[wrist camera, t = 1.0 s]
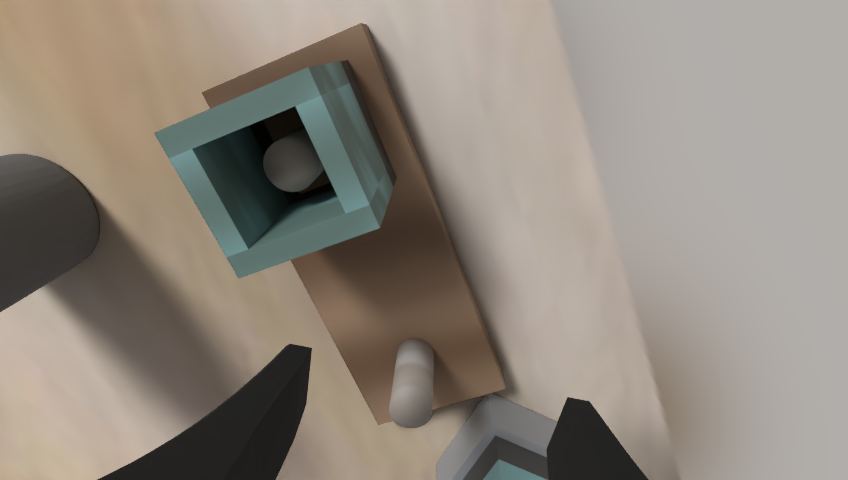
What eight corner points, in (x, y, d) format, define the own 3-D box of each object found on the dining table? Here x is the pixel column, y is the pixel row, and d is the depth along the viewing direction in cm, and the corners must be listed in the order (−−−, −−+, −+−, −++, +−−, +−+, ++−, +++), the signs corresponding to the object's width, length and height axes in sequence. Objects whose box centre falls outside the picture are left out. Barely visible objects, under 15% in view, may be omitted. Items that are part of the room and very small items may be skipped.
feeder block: (524, 500, 29) (531, 539, 27) (436, 464, 28) (435, 501, 26) (580, 432, 27) (593, 468, 25) (487, 391, 26) (491, 424, 24)
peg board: (502, 370, 26) (524, 491, 19) (381, 405, 27) (360, 531, 20) (366, 24, 20) (325, 14, 13) (217, 89, 21) (105, 112, 14)
